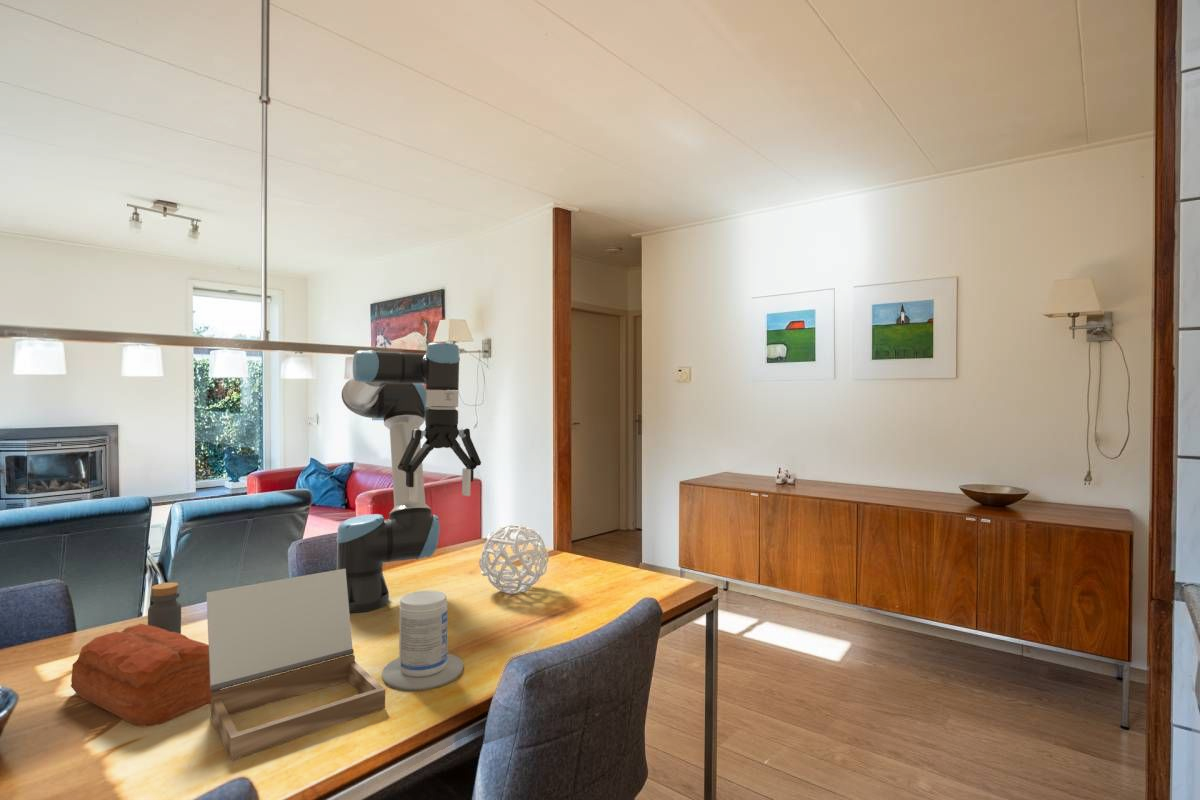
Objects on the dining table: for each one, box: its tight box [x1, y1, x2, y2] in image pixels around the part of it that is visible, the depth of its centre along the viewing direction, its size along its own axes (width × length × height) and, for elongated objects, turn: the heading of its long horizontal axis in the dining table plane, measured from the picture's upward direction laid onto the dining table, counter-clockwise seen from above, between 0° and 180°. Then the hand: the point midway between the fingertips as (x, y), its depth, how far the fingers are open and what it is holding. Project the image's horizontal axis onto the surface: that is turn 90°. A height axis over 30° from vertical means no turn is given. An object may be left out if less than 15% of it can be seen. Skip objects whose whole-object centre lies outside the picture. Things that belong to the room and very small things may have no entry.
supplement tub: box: [398, 590, 448, 677], centre depth 125 cm, size 10×10×15 cm
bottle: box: [147, 581, 182, 634], centre depth 130 cm, size 6×6×15 cm
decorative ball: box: [478, 524, 550, 595], centre depth 176 cm, size 20×20×19 cm
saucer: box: [381, 652, 464, 692], centre depth 125 cm, size 16×16×1 cm
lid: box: [206, 568, 355, 692], centre depth 116 cm, size 17×24×2 cm
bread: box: [70, 623, 221, 727], centre depth 113 cm, size 16×27×11 cm, turn 62°
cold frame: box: [210, 653, 386, 761], centre depth 108 cm, size 16×24×4 cm
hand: (440, 498), depth 143 cm, fingers open, 13 cm apart
